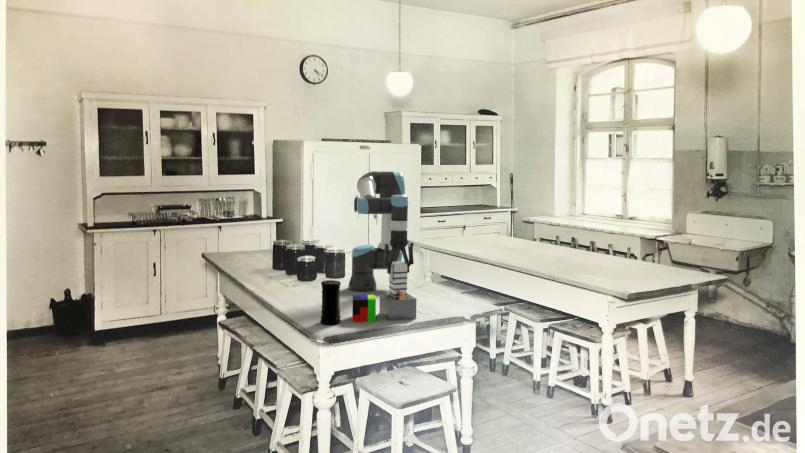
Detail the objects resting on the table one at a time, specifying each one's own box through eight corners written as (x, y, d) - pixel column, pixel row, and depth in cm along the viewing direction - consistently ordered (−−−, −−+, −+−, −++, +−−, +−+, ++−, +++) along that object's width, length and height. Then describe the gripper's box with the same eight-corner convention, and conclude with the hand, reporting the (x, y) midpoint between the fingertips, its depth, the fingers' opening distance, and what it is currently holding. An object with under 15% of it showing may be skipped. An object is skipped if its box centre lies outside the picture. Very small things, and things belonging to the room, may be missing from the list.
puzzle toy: (352, 316, 297) (352, 294, 296) (374, 316, 298) (374, 294, 297) (352, 322, 287) (352, 300, 286) (375, 322, 288) (375, 299, 287)
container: (329, 318, 292) (329, 279, 290) (345, 322, 287) (345, 281, 285) (315, 323, 285) (315, 282, 283) (331, 326, 280) (331, 285, 277)
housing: (388, 320, 291) (389, 294, 289) (379, 313, 303) (379, 288, 301) (416, 318, 295) (416, 292, 294) (405, 311, 307) (406, 286, 306)
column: (393, 308, 294) (394, 264, 292) (388, 305, 300) (389, 261, 298) (406, 307, 297) (407, 263, 294) (401, 304, 302) (402, 261, 300)
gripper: (381, 231, 287) (380, 283, 290) (422, 230, 294) (421, 280, 297) (375, 229, 294) (375, 279, 297) (415, 228, 301) (414, 277, 304)
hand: (398, 280), depth 297 cm, fingers closed on column, 6 cm apart
